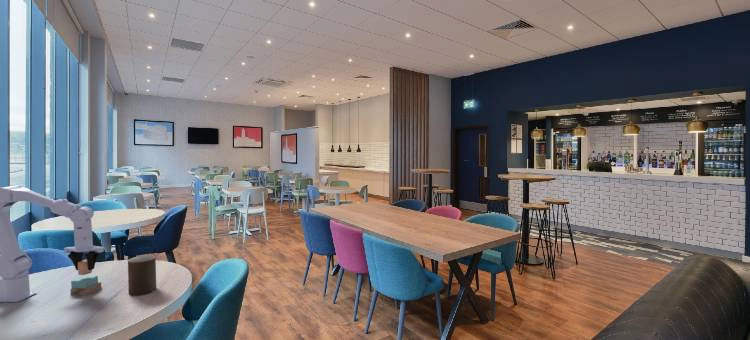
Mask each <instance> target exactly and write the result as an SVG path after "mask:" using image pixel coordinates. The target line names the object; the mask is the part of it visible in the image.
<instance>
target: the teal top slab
mask: <svg viewBox="0 0 750 340" xmlns="http://www.w3.org/2000/svg"><path fill="white" fill-rule="evenodd" d="M70 282H71V284H70V285H71V288H84V289H86V288H88V287H90V286H92V285H94V284H97V283H98V282H99V276H98V275H81V276H80V277H77V278H75V279H73V280H71V281H70Z"/></svg>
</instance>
